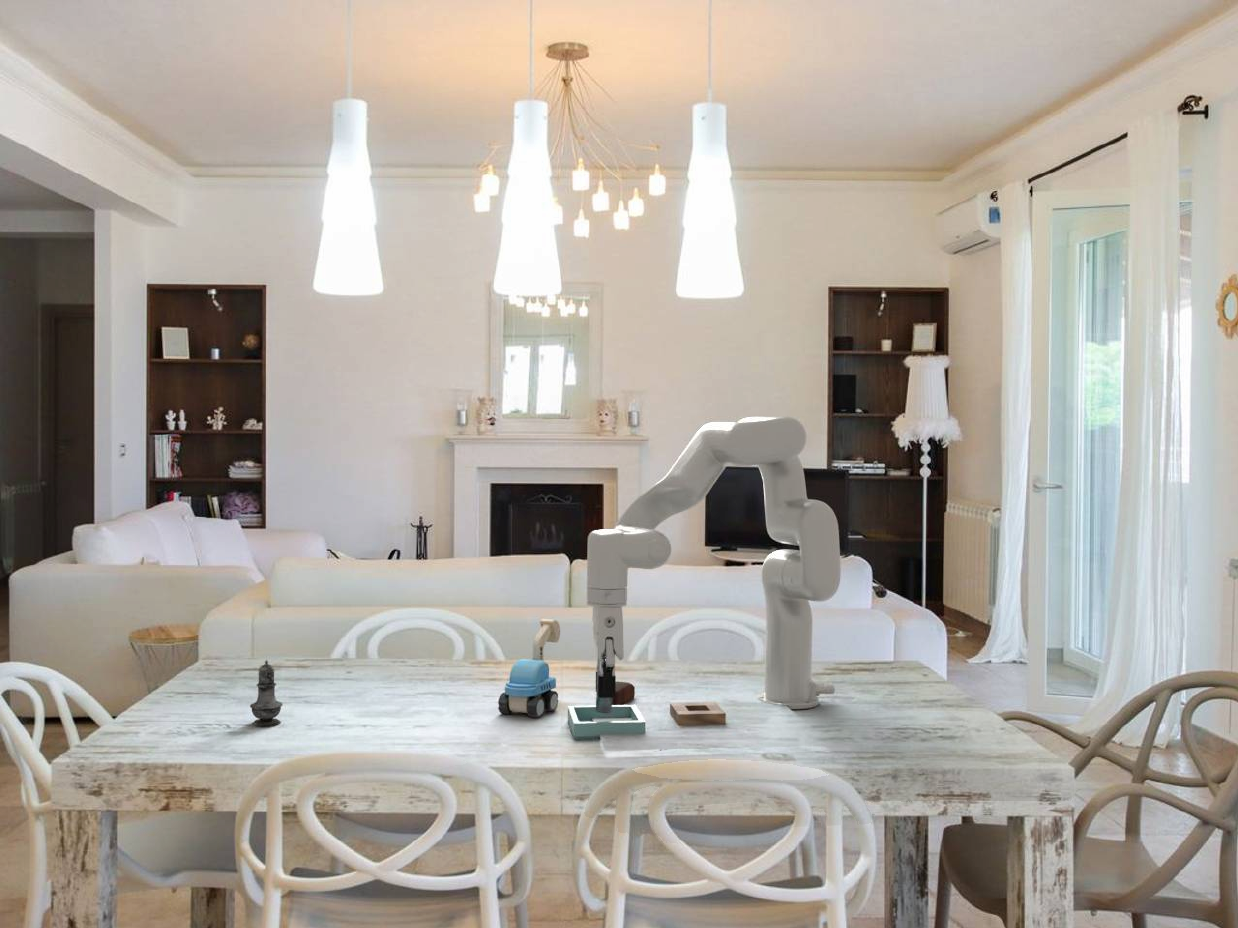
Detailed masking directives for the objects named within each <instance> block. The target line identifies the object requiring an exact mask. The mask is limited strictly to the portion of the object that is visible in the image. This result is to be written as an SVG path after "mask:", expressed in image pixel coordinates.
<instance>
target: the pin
mask: <svg viewBox="0 0 1238 928" xmlns="http://www.w3.org/2000/svg"><path fill="white" fill-rule="evenodd" d="M602 657H603V658H602V659H606V656H602ZM604 664H606V663H603V665H604ZM598 676H600V660H599V659H598V673H597V692H596V691H595V695H596V697H595V706H596V712H598V713H611V712H612V698H599V697H598Z"/></svg>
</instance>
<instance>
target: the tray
mask: <svg viewBox="0 0 1238 928" xmlns="http://www.w3.org/2000/svg"><path fill="white" fill-rule="evenodd" d="M593 718H630V719H631V720H613V721H611V720H608V721H605V720H602V721H594V719H593ZM567 723H568V727H569V729H570V732H571V735H572V736H571V737H572V739H573V738H574V739H573V740H574V741H577V740H576V739H580V740H579V741H583V740H582V739H586V740H589V741H591V740H592V739H594V740H602V738H601V735H624V734H646V721H645V718H644V717H643V716H642V714H641V712H640V710H639V709H638V707H637V706H636V704H624V705H612V712H611V713H598V712H596V705H567ZM586 740H585V741H586ZM594 740H593V741H594Z"/></svg>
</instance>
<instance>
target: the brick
mask: <svg viewBox="0 0 1238 928" xmlns="http://www.w3.org/2000/svg"><path fill="white" fill-rule="evenodd" d="M635 689H636V688H635V685H633V684H632V683H630V682H627V681H616V687H615V697H614V698H612V705H627V704H628V703H629V702H631V701H632V700H634V699H635V694H636V692H635Z"/></svg>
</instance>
